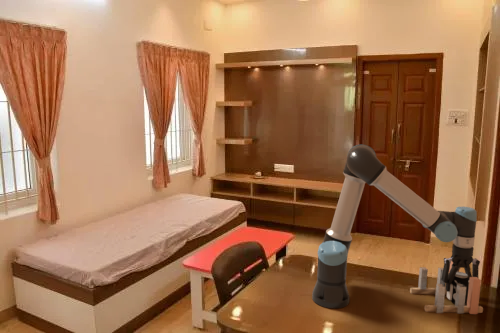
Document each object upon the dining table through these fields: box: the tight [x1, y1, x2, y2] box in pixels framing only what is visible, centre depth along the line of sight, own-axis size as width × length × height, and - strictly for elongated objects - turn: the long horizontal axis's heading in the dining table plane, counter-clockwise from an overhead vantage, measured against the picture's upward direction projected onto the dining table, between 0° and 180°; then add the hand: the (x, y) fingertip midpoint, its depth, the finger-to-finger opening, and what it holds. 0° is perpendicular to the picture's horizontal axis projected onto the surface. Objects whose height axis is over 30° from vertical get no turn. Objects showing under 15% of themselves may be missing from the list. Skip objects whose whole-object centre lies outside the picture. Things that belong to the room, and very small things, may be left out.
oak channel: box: [409, 287, 484, 314], centre depth 161 cm, size 22×16×2 cm
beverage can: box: [449, 271, 469, 305], centre depth 160 cm, size 7×7×12 cm
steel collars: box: [417, 266, 466, 314], centre depth 161 cm, size 10×18×11 cm, turn 179°
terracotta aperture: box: [449, 261, 482, 315], centre depth 160 cm, size 3×19×14 cm, turn 179°
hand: (458, 298), depth 161 cm, fingers closed on beverage can, 6 cm apart
